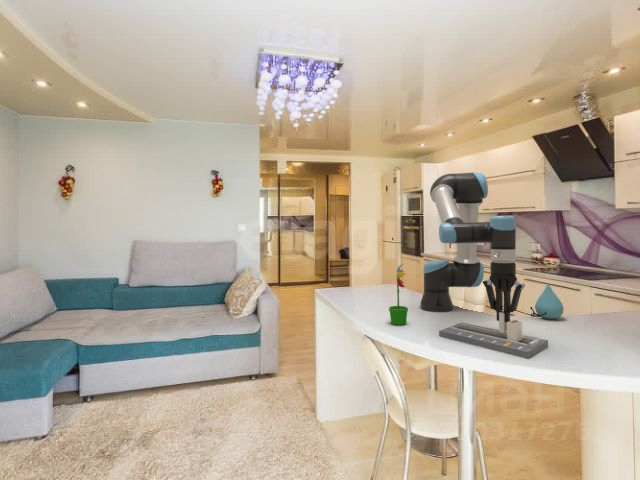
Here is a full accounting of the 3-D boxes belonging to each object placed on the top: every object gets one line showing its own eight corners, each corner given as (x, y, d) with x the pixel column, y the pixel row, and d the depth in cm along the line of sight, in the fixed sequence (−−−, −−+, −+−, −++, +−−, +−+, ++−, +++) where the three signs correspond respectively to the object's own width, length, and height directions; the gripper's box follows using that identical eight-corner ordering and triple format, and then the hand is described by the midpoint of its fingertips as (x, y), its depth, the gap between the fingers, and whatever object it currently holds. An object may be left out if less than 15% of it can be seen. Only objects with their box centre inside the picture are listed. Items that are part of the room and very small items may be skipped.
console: (462, 327, 139) (462, 319, 138) (547, 346, 115) (547, 336, 115) (439, 336, 129) (439, 327, 128) (528, 358, 105) (528, 348, 105)
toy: (536, 312, 159) (536, 279, 158) (567, 316, 151) (567, 282, 150) (527, 319, 149) (527, 283, 148) (559, 323, 140) (559, 286, 140)
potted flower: (408, 326, 141) (407, 265, 141) (389, 326, 143) (387, 265, 142) (407, 320, 151) (406, 262, 150) (389, 320, 152) (388, 262, 151)
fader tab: (512, 337, 118) (512, 319, 118) (522, 339, 116) (521, 320, 115) (507, 340, 116) (507, 321, 115) (516, 342, 113) (516, 323, 113)
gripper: (478, 261, 120) (478, 329, 121) (518, 263, 110) (519, 338, 111) (488, 259, 125) (489, 325, 126) (528, 261, 115) (528, 333, 116)
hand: (503, 331), depth 118 cm, fingers closed
